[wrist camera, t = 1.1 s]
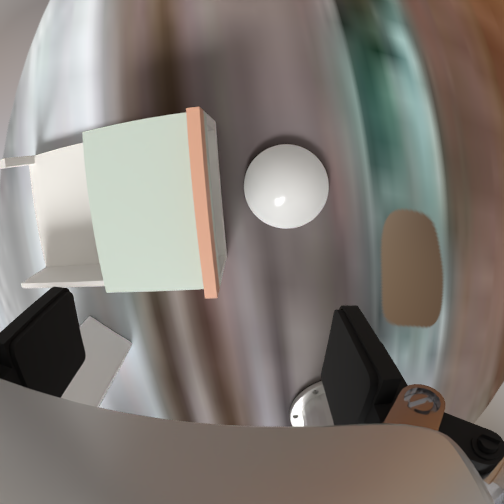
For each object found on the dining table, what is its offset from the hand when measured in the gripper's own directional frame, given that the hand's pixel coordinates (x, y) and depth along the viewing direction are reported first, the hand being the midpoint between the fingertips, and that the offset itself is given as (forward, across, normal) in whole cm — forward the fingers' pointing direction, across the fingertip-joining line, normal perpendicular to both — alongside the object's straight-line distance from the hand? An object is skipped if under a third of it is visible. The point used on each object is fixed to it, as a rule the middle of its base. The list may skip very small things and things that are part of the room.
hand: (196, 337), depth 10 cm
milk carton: (+26, +18, +20) cm, 37 cm away
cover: (+18, +7, -1) cm, 19 cm away
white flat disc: (+25, -6, -2) cm, 26 cm away
